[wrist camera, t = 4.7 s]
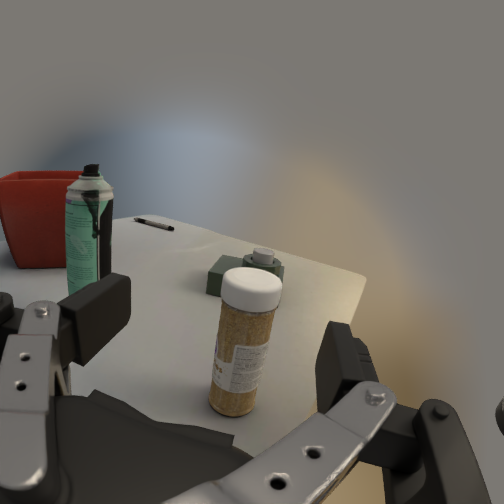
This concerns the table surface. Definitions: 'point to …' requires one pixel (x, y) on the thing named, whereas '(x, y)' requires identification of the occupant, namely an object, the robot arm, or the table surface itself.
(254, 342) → the sprinkles bottle
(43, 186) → the flower pot
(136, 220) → the pen
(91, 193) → the spray can
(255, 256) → the grey short cylinder
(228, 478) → the robot arm
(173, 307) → the table surface
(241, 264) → the push button box
